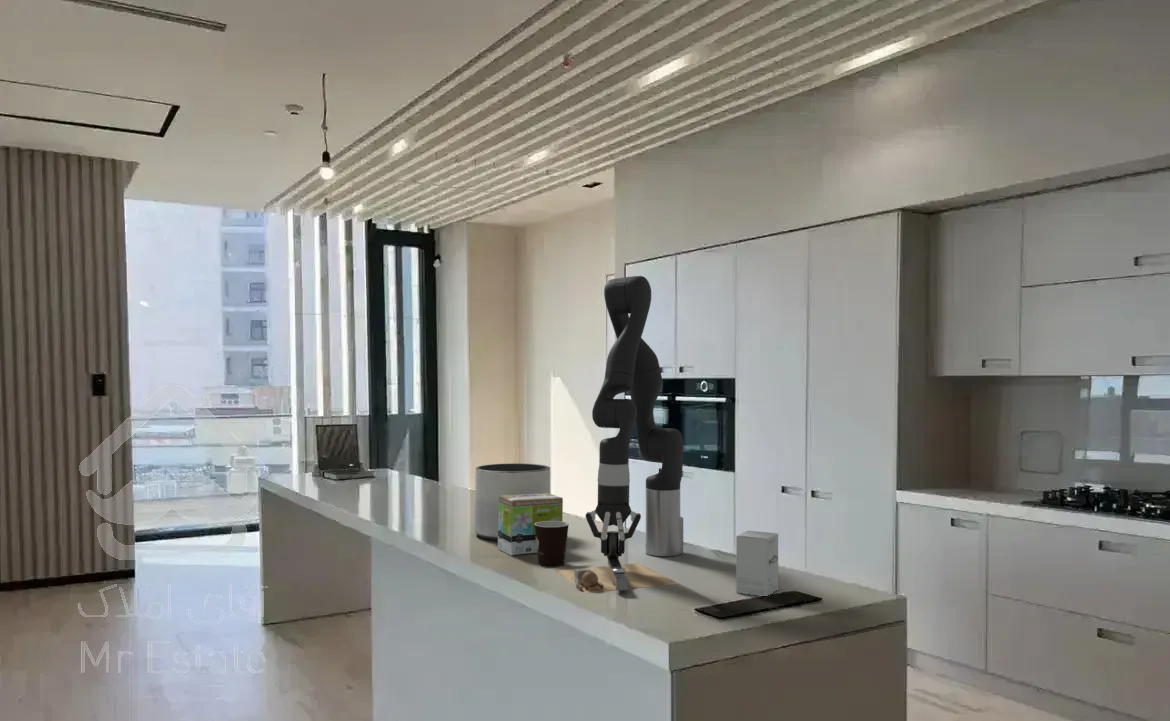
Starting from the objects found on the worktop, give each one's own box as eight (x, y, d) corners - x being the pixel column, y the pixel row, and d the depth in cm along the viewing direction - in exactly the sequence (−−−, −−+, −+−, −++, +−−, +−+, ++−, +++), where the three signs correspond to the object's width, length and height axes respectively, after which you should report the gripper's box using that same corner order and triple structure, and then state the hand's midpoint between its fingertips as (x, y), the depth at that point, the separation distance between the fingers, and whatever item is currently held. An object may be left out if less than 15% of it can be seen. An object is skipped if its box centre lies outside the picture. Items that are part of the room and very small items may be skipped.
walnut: (594, 585, 178) (594, 568, 178) (600, 589, 175) (600, 572, 175) (579, 586, 177) (579, 570, 177) (585, 590, 173) (585, 574, 173)
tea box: (511, 557, 212) (511, 500, 212) (497, 549, 220) (497, 495, 221) (563, 551, 219) (563, 496, 219) (547, 544, 227) (547, 491, 228)
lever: (629, 590, 171) (629, 552, 171) (614, 590, 171) (614, 552, 171) (618, 564, 194) (618, 531, 194) (605, 564, 194) (605, 531, 194)
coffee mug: (564, 568, 198) (564, 527, 199) (530, 567, 200) (530, 526, 200) (574, 558, 210) (574, 519, 210) (542, 556, 212) (542, 518, 212)
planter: (509, 525, 257) (509, 461, 257) (565, 533, 244) (566, 466, 244) (458, 536, 239) (458, 468, 239) (516, 545, 225) (517, 473, 226)
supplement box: (768, 598, 173) (768, 538, 173) (735, 593, 177) (735, 534, 177) (779, 590, 179) (779, 532, 179) (747, 585, 183) (747, 529, 183)
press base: (639, 568, 199) (639, 550, 199) (679, 589, 180) (679, 569, 180) (551, 576, 191) (551, 558, 191) (583, 598, 172) (583, 579, 172)
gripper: (642, 481, 197) (642, 553, 196) (585, 480, 197) (584, 551, 197) (643, 485, 189) (642, 559, 189) (583, 483, 190) (582, 558, 189)
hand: (612, 555), depth 193 cm, fingers closed on lever, 3 cm apart
